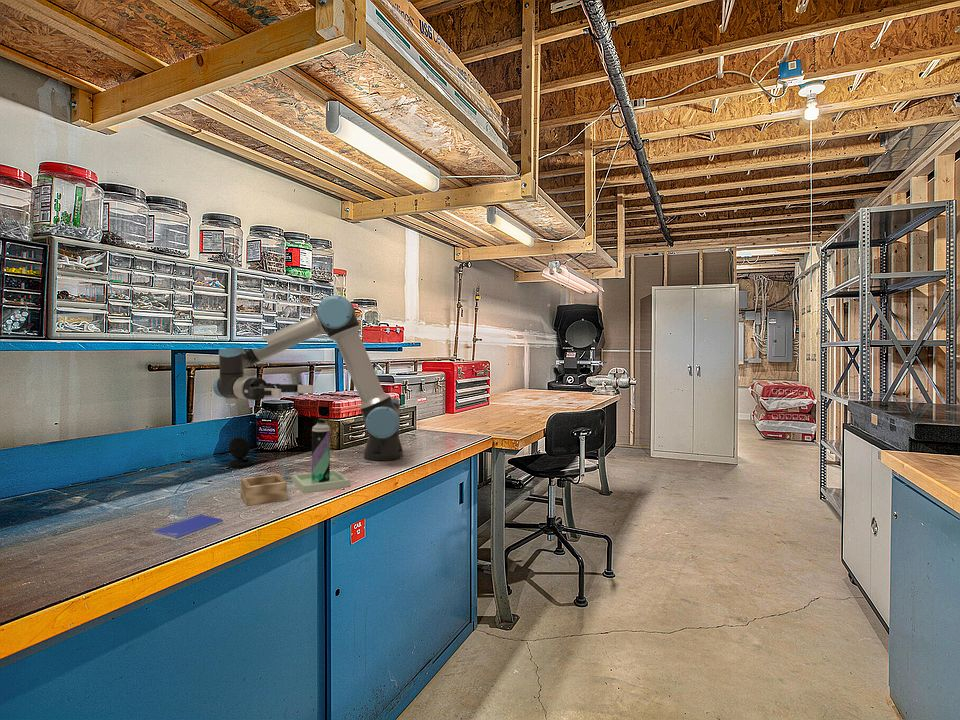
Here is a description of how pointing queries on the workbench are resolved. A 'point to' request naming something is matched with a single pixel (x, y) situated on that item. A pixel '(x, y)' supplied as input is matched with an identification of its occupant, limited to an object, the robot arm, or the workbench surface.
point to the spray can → (320, 453)
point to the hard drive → (186, 527)
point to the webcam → (239, 453)
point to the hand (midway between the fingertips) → (297, 391)
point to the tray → (334, 482)
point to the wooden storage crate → (263, 489)
